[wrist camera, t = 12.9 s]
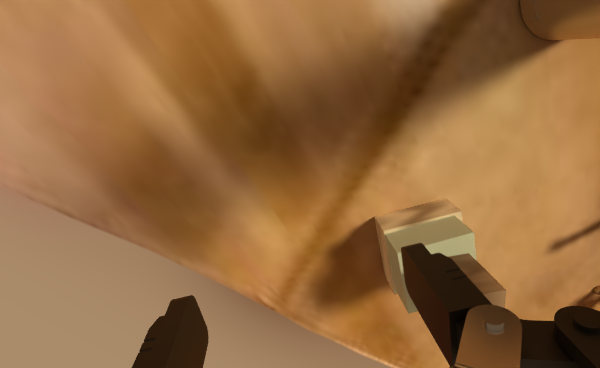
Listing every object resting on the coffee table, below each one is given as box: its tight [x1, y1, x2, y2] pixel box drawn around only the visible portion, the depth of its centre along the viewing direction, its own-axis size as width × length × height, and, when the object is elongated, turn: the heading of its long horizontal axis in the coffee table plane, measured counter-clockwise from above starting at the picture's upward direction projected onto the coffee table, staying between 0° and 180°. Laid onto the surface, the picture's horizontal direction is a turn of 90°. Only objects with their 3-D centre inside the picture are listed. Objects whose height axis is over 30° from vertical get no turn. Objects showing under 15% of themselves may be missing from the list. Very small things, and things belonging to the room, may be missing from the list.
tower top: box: [385, 215, 477, 313], centre depth 38 cm, size 8×8×4 cm
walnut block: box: [449, 253, 506, 308], centre depth 33 cm, size 5×5×6 cm
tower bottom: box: [374, 198, 463, 294], centre depth 42 cm, size 9×9×4 cm
